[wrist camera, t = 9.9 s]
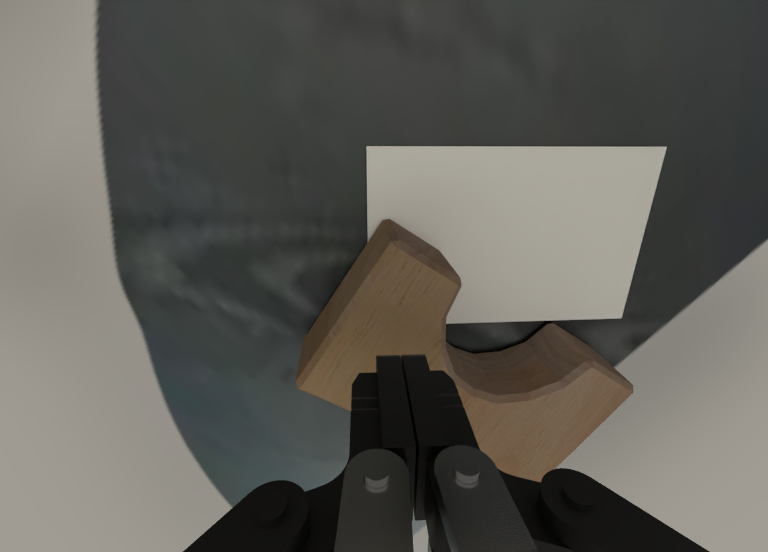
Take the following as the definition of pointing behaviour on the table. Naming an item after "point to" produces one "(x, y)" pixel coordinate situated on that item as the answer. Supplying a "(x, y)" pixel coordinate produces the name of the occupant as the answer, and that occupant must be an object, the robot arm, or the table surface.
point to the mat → (522, 222)
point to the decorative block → (459, 357)
